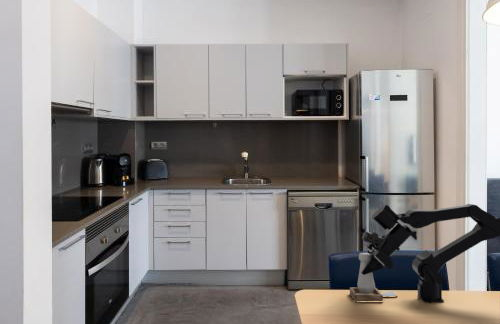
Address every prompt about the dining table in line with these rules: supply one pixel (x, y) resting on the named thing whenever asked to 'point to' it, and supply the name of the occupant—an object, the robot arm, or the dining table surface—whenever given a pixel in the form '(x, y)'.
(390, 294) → the grey rectangular slab
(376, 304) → the dining table surface
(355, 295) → the walnut socket
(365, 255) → the salt shaker
